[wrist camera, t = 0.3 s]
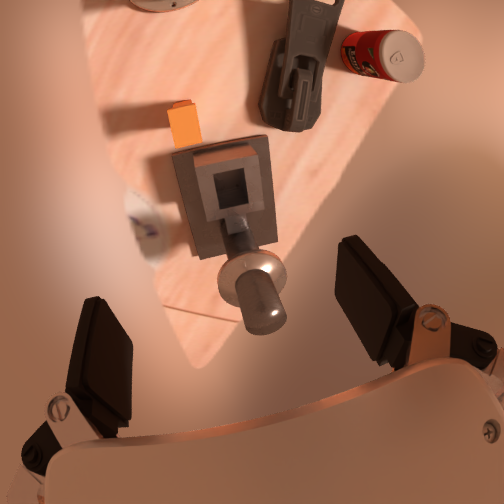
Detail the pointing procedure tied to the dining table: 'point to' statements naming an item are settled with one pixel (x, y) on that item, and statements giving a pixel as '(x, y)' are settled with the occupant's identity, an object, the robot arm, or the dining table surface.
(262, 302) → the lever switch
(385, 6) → the dining table surface
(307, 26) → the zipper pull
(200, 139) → the orange tapered block
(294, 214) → the dining table surface
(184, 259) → the dining table surface
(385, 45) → the canned food
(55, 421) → the robot arm
